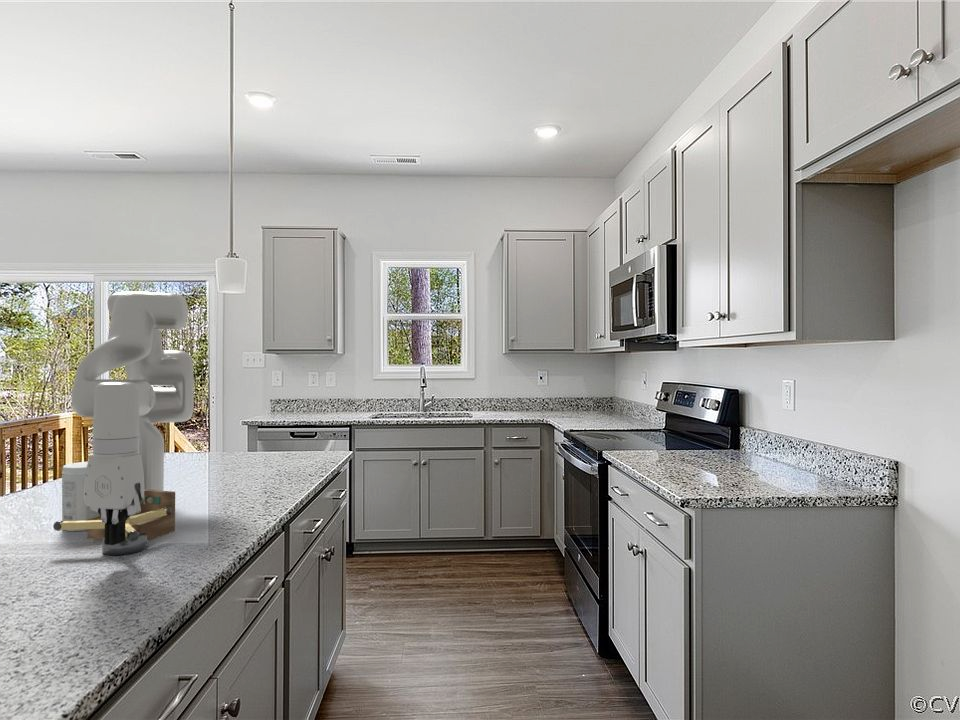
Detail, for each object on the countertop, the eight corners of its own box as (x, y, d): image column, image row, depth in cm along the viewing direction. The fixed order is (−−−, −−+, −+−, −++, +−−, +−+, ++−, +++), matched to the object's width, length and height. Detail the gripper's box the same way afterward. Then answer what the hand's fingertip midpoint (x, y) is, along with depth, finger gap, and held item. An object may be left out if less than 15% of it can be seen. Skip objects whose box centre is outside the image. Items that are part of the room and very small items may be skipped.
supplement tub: (112, 519, 148) (113, 459, 148) (108, 529, 139) (109, 465, 139) (65, 524, 144) (66, 462, 144) (57, 534, 135) (58, 468, 135)
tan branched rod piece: (64, 577, 108) (65, 536, 108) (52, 551, 122) (52, 515, 122) (194, 553, 122) (195, 517, 122) (169, 533, 137) (170, 500, 137)
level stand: (87, 537, 133) (88, 496, 133) (124, 526, 142) (125, 487, 142) (139, 543, 129) (140, 501, 129) (174, 531, 139) (175, 491, 139)
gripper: (67, 447, 114) (65, 545, 114) (132, 451, 110) (131, 552, 110) (101, 442, 121) (100, 534, 121) (163, 446, 117) (162, 540, 117)
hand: (114, 542), depth 116 cm, fingers closed
